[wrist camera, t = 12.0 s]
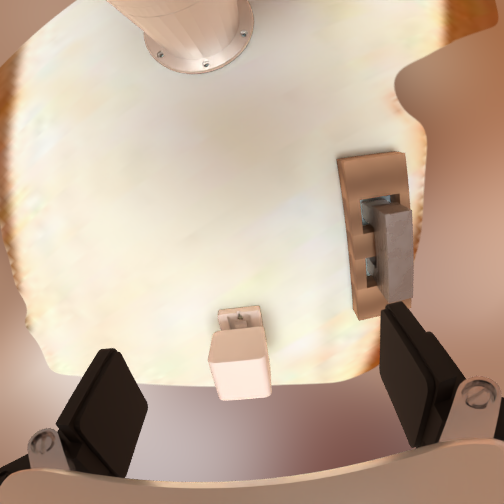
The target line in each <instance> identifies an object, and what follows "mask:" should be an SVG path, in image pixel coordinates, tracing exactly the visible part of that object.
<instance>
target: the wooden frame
mask: <svg viewBox="0 0 504 504" xmlns="http://www.w3.org/2000/svg"><path fill="white" fill-rule="evenodd" d="M337 165H338V171H339V178H340V185H341V192H342V199H343V207H344V215H345V223H346V232H347V241H348V251H349V261H350V273H351V285H352V299H353V310H354V312H355V314H356V316H357V318H358V320H359V321H360V320H364V319H368V318H373V317H377V316H381V310H384V309H385V306H386V305H387V304H390V303H388V301H387V300H386V299H385V297H384V296H383V294H382V293H381V292H380V290H379V289H378V287H377V283H376V281H375V280H374V279H373V277H372V276H367V277H366V262H365V258H369V257H374V256H376V249H375V235H374V227H373V226H371V225H370V224H368V225H363V226H362V216H361V207H360V200H362V199H368V198H374V197H380V196H387V195H390V197H391V202H398V203H400V204H401V205H403V206H405V207H407V208H409V209H410V199H409V186H408V176H407V166H406V157H405V153H401V152H395V151H394V152H385V153H377V154H369V155H362V156H355V157H348V158H341V159H337ZM401 301H402V302H403V303H404V304H405V305H406V306H407V308H408V309H409V308H411V298H409V299H405V300H401ZM397 302H399V301H397ZM393 303H395V302H393Z"/></svg>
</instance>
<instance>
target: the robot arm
mask: <svg viewBox="0 0 504 504" xmlns="http://www.w3.org/2000/svg"><path fill="white" fill-rule="evenodd" d="M106 1H107V2H109V3H110V4H111V5H112V6H114V7H115V8H116V9H117V10H118V11H120V12H121V13H122V14H123V15H125V16H126V17H127V18H128V19H129V20H131V21H132V22H133V23H134V24H136V25H137V26H138V27H139V28H140V29H142V30H143V31H144V40H145V43H146V47H147V49H148V50H149V52H150V54H151V55H152V56H153V57H154V58H155V60H156V61H158V62H159V63H160V64H162V65H163V66H165V67H167V68H168V69H170V70H173V71H176V72H179V73H187V74H201V73H206V72H211V71H213V70H216V69H219V68H221V67H223V66H225V65H227V64H228V63H230V62H231V61H233V60H234V59H235V58H236V57H238V56H239V55H240V53H241V52H242V51H243V50H244V49H245V47H246V46H247V44H248V42H249V40H250V38H251V35H252V32H253V24H254V21H253V13H252V9H251V6H250V4H249V2H248V1H247V0H106ZM243 34H245V35H246V37H242V35H243ZM162 54H164V56H163V57H162V58H161V57H160V56H161V55H162ZM205 64H209V66H208V67H205ZM379 368H380V375H381V378H382V381H383V383H384V385H385V387H386V390H387V392H388V394H389V397H390V399H391V401H392V403H393V406H394V408H395V410H396V413H397V415H398V417H399V420H400V422H401V425H402V427H403V429H404V432H405V434H406V437H407V439H408V442H409V444H410V446H411V447H412V448H414V447H416V449H413V450H409V451H405V452H401V453H398V454H394V455H391V456H387V457H383V458H380V459H376V460H372V461H368V462H363V463H359V464H354V465H350V466H345V467H341V468H336V469H331V470H326V471H320V472H314V473H308V474H302V475H295V476H287V477H279V478H270V479H259V480H247V481H229V482H168V481H150V480H138V479H128V478H125V477H126V475H127V472H128V469H129V465H130V462H131V459H132V456H133V453H134V450H135V447H136V443H137V440H138V437H139V434H140V431H141V428H142V425H143V422H144V419H145V416H146V413H147V410H148V404H147V401H146V400H145V398H144V396H143V394H142V393H141V391H140V389H139V387H138V385H137V383H136V381H135V380H134V378H133V376H132V374H131V372H130V370H129V368H128V366H127V364H126V362H125V360H124V358H123V356H122V354H121V353H120V352H117V350H116V349H114V348H110V349H101V350H99V351H98V353H97V355H96V356H95V358H94V359H93V361H92V363H91V364H90V366H89V367H88V369H87V371H86V372H85V374H84V376H83V377H82V379H81V381H80V383H79V384H78V386H77V387H76V389H75V391H74V392H73V394H72V396H71V398H70V399H69V401H68V403H67V404H66V406H65V408H64V410H63V411H62V414H61V415H60V417H59V418H58V420H57V422H56V425H57V427H58V428H59V430H58V432H57V431H55V430H54V429H51V428H48V429H47V428H46V429H42V430H40V431H38V432H36V433H35V434H34V435H33V436H32V437H31V439H30V440H29V443H28V449H27V450H28V454H27V455H25V456H23V457H21V458H19V459H17V460H15V461H13V462H11V463H9V464H7V465H5V466H3V467H1V468H0V504H504V398H503V397H501V390H500V387H499V385H498V384H497V383H496V382H495V381H493V380H492V379H490V378H487V377H483V376H475V377H470V378H468V379H466V378H465V377H464V375H463V374H462V372H461V371H460V370H459V368H458V367H457V365H456V364H455V363H454V362H453V360H452V359H451V357H450V356H449V354H448V353H447V352H446V350H445V349H444V348H443V346H442V345H441V344H440V343H439V341H438V340H437V338H436V337H435V336H434V334H433V333H431V332H426V331H425V330H424V329H423V327H422V326H421V325H420V324H419V322H418V321H417V320H416V318H415V317H414V316H413V314H412V313H411V312H410V310H409V309H408V308H407V306H406V305H405V304H404V303H403V302H402V301H399V302H395V303H390V304H387V305H386V306H385V309H384V310H381V329H380V367H379Z"/></svg>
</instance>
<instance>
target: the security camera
mask: <svg viewBox="0 0 504 504" xmlns="http://www.w3.org/2000/svg"><path fill="white" fill-rule="evenodd" d="M239 314H241V316H242V317H243V319H241V320H240V319H238V316H239ZM218 320H219V325H220V329H221V331H217V332H215V333H214V334H213V336H212V341H211V346H210V351H209V356H208V363H209V366H210V369H211V373H212V376H213V379H214V383H215V386H216V389H217V392H218V396H219V398H220V399H221V400H224V401H225V400H239V399H251V398H262V397H268V396H269V395H270V394H271V392H272V390H271V372H270V362H269V356H268V349H267V343H266V337H265V330H264V328H263V325H262V318H261V312H260V307H259V306H250V307H242V308H233V309H224V310H219V312H218Z"/></svg>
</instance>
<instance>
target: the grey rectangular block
mask: <svg viewBox="0 0 504 504" xmlns="http://www.w3.org/2000/svg"><path fill="white" fill-rule="evenodd" d="M361 204H362V213H363V219H364V220H366V221H367V222H368V223H369V224H370V225H371V226H373V227H374V235H375V249H376V256H374V257H369V258H367V270H368V272H369V273H370V274H371V276H372V277H373V279H374V280H375V281H376V283H377V287H378V289H379V290H380V292H381V293H382V294H383V296H384V297H385V299H386V300H387V301H388V303H393V302H397V301H401V300H405V299H409V298H412V297H413V224H412V210H411V209H409V208H407V207H405V206H403V205H401V204H400V203H398V202H391V203H390V202H389V201H387V200H385V199H379V200H373V201H367V202H362V203H361Z"/></svg>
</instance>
